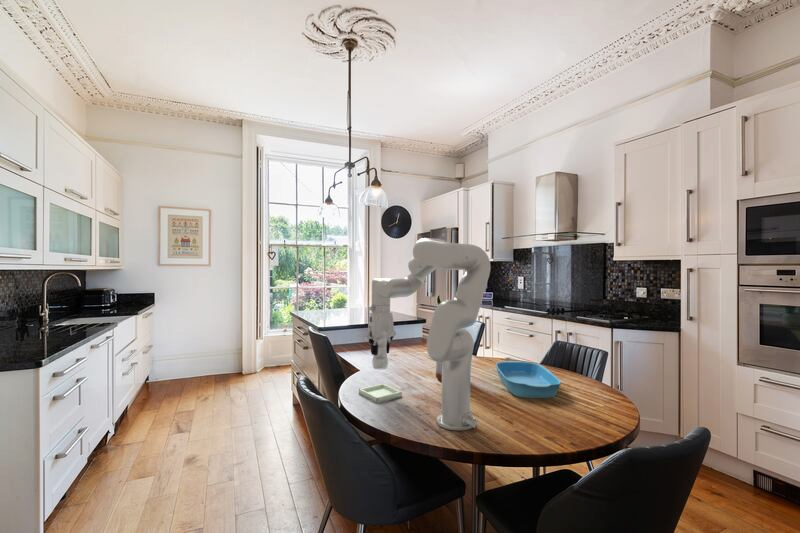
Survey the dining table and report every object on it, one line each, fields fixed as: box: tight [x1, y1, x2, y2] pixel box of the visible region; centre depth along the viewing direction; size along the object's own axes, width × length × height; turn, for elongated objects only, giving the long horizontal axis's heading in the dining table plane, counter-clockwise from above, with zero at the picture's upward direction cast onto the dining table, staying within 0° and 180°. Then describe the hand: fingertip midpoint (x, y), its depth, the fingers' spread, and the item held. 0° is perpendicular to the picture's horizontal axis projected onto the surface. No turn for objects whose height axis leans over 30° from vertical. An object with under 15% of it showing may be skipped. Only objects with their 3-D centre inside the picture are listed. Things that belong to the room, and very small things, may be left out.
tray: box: [358, 383, 403, 404], centre depth 153 cm, size 13×12×2 cm
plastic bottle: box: [371, 331, 389, 371], centre depth 153 cm, size 6×7×20 cm
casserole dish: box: [495, 360, 562, 399], centre depth 165 cm, size 37×22×7 cm, turn 178°
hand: (380, 353), depth 153 cm, fingers closed on plastic bottle, 5 cm apart
